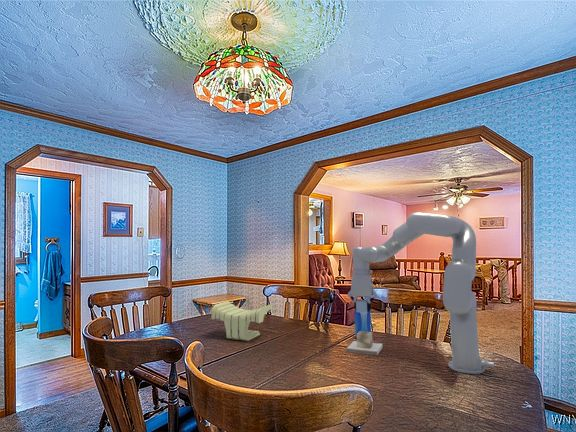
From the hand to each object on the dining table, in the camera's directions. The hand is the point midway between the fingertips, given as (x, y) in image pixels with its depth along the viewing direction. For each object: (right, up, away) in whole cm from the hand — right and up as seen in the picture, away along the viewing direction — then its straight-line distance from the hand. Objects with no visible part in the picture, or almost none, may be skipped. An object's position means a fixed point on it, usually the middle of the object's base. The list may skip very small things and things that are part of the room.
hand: (362, 310), depth 158 cm
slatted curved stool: (-61, -22, +25) cm, 69 cm away
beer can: (+4, -20, +17) cm, 26 cm away
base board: (+1, -18, -2) cm, 18 cm away
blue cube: (0, -1, 0) cm, 1 cm away
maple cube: (+1, -16, -2) cm, 16 cm away
